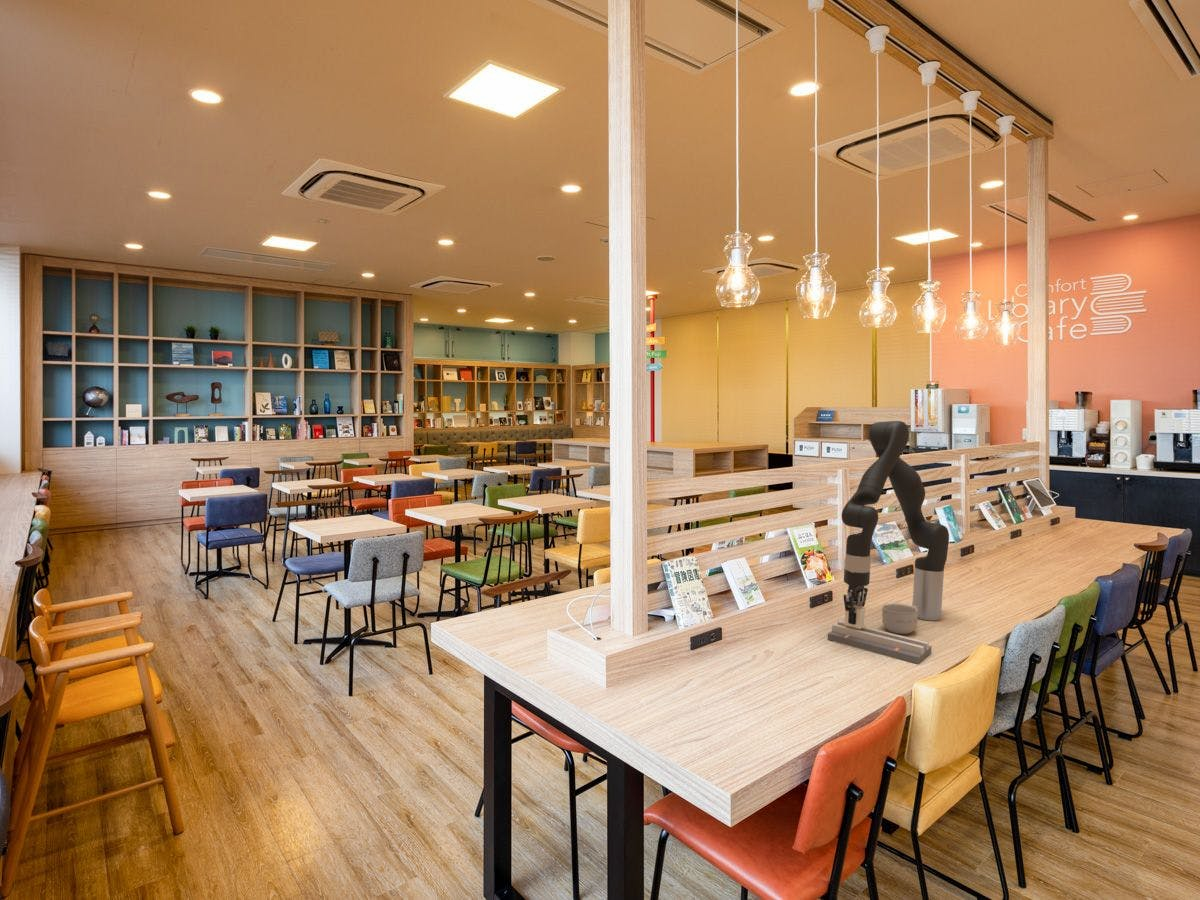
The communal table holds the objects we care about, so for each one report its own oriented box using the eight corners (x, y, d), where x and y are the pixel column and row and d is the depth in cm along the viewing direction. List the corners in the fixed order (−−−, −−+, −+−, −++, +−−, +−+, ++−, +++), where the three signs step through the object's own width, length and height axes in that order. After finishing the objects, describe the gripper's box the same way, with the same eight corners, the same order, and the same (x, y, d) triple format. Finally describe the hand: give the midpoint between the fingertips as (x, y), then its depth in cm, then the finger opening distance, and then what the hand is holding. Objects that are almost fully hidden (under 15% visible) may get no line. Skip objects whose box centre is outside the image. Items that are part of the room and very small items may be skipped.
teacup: (895, 638, 214) (897, 613, 213) (873, 626, 224) (874, 603, 224) (932, 634, 218) (933, 610, 217) (908, 623, 228) (909, 600, 228)
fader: (847, 629, 215) (849, 604, 214) (863, 633, 211) (864, 607, 210) (844, 631, 212) (845, 606, 212) (859, 635, 209) (861, 609, 208)
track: (843, 630, 220) (843, 618, 220) (931, 652, 202) (932, 640, 202) (827, 639, 211) (828, 627, 211) (918, 664, 193) (918, 650, 193)
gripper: (854, 562, 218) (851, 614, 219) (836, 570, 207) (833, 624, 209) (877, 566, 213) (874, 620, 214) (860, 575, 202) (857, 630, 204)
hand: (854, 622), depth 211 cm, fingers closed on fader, 3 cm apart
